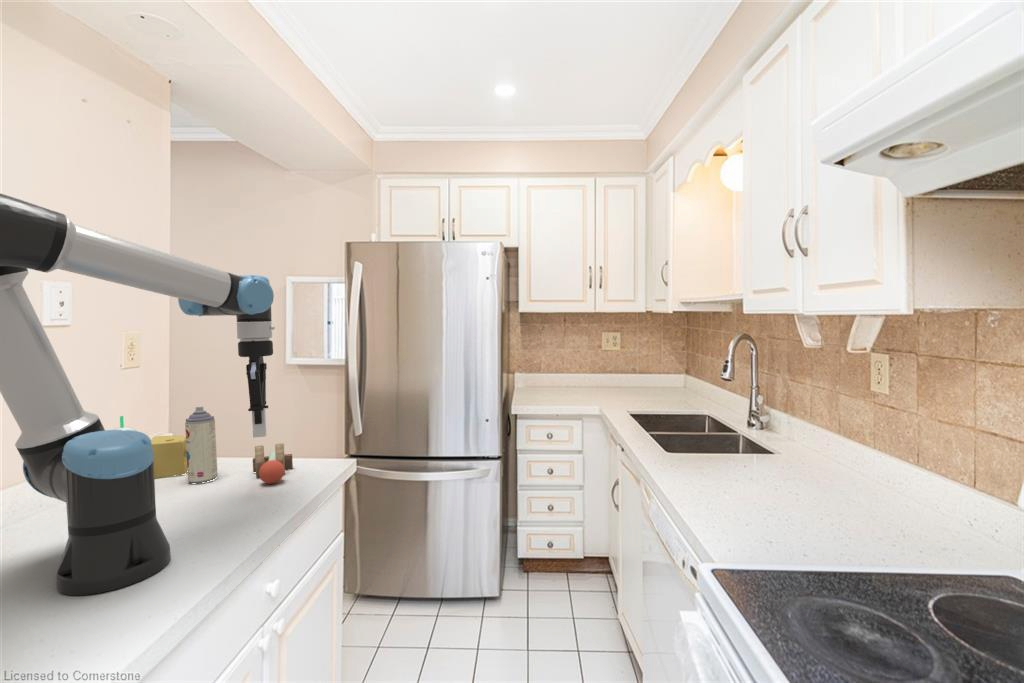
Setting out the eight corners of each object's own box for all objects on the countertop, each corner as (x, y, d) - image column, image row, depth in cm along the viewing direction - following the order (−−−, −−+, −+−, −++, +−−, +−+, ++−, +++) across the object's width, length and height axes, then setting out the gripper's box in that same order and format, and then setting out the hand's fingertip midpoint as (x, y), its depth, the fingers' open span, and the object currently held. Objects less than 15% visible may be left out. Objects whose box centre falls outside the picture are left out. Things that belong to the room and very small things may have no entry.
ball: (287, 464, 135) (281, 486, 132) (263, 461, 133) (256, 483, 130) (287, 459, 130) (280, 483, 127) (262, 456, 128) (255, 480, 125)
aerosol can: (191, 478, 136) (187, 406, 135) (219, 474, 138) (216, 403, 137) (185, 486, 129) (181, 410, 128) (215, 482, 132) (211, 407, 131)
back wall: (292, 469, 142) (291, 455, 142) (253, 473, 139) (252, 459, 138) (292, 467, 144) (292, 453, 144) (254, 471, 141) (253, 457, 140)
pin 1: (264, 477, 135) (263, 446, 134) (255, 478, 134) (254, 447, 133) (265, 475, 137) (264, 445, 136) (256, 476, 136) (255, 446, 136)
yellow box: (196, 465, 148) (194, 432, 148) (185, 476, 138) (183, 440, 138) (155, 470, 145) (153, 436, 145) (141, 481, 135) (138, 444, 134)
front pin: (273, 472, 133) (278, 450, 140) (264, 472, 132) (269, 450, 139) (274, 478, 134) (278, 455, 141) (265, 478, 133) (270, 456, 140)
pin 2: (284, 475, 136) (283, 445, 136) (275, 476, 135) (274, 445, 135) (285, 473, 138) (284, 443, 138) (276, 474, 138) (275, 444, 137)
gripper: (268, 340, 115) (273, 440, 116) (275, 338, 127) (279, 429, 128) (232, 341, 112) (237, 444, 113) (243, 339, 125) (247, 432, 126)
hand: (259, 436), depth 121 cm, fingers closed
